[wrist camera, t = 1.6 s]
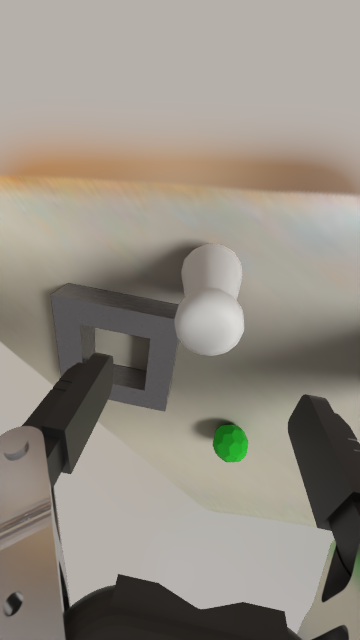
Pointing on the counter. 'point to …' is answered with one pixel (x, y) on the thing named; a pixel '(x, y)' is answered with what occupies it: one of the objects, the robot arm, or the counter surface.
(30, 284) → the counter surface
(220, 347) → the salt shaker
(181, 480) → the counter surface
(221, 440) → the polyhedron
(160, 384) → the collar
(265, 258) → the counter surface
